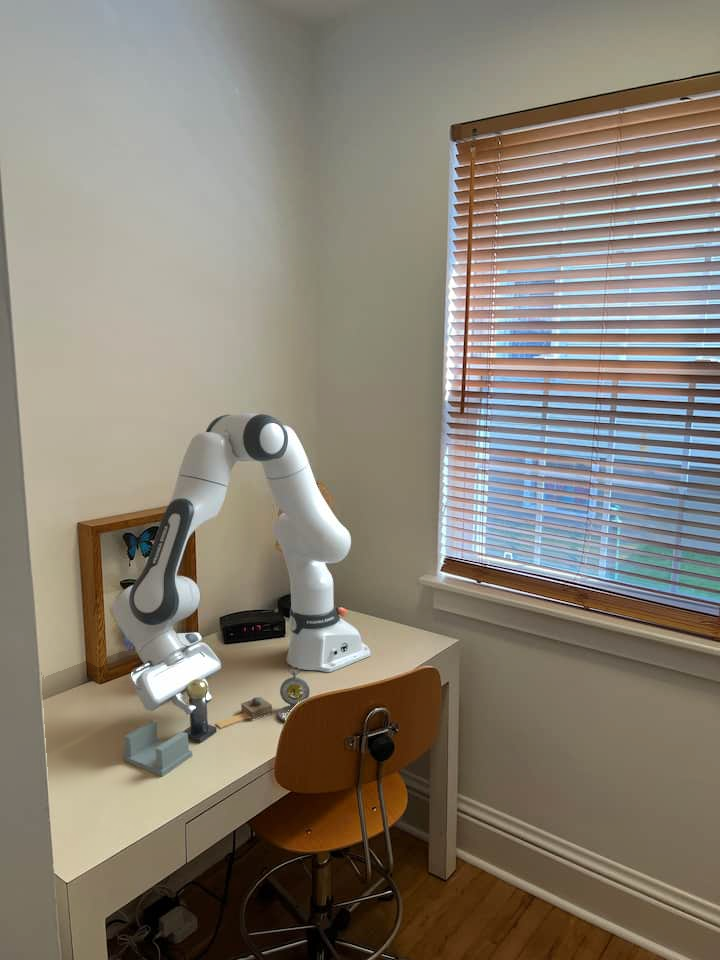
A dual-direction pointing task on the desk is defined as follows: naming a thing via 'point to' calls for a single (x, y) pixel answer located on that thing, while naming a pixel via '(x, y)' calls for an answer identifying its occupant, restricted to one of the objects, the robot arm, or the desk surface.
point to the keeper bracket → (155, 749)
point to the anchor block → (256, 707)
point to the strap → (231, 720)
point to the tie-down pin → (199, 712)
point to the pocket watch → (293, 687)
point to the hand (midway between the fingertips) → (200, 707)
